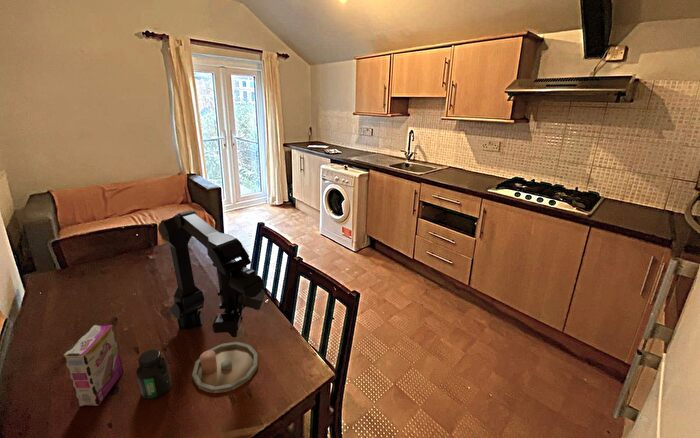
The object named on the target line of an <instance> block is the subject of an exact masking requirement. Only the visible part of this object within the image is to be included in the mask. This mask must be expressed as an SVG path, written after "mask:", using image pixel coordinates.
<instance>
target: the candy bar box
mask: <svg viewBox="0 0 700 438" xmlns="http://www.w3.org/2000/svg"><path fill="white" fill-rule="evenodd" d="M113 326H114V325H112V324H94V325H93V326H92V327H91V328H90V329H89V330H88V331H86V333H85V334H84V335H83V336H81V337H80V339H79V340H77V341H76V342H75V344H73V345H72V346H71V347H70V348H69V349H68V350H67V351H66V352H65V353H64V354H63V358H64V361H65V365H66V367H67V371H68V373H69V377H70V380H71V383H72V387H73V389H74V392H75V396H76V399H77V402H78V405H79V406H80V407H97V406H98V407H99V406H100V405H101V404H102V402H103V401H104V399H105V398H106V397H107V395H108V394H109V393H110V391H111V389H113V387H114V386H115V384H116V383H117V381H118V380H119V379H120V377H121V376H122V374H124V368H123V363H122V360H121V356H120V355H121V354H120V352H119V347H118V343H117V339H116V335H115V331H114V327H113Z"/></svg>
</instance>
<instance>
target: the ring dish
mask: <svg viewBox="0 0 700 438" xmlns="http://www.w3.org/2000/svg"><path fill="white" fill-rule="evenodd" d="M209 350H212V351H214V352H215V355H216V362H217V370H216V371H215V372H214V373H213V374H210V375H204V374H203V373H202V368H201V362H200V357H199V358H198V359H196V361H195V362H194V367H193V369H192V374H191V375H192V379H193V382H194V384H195V386H196V387H197V388H198V389H199V390H202V391H204V392H206V393H212V394H218V393H219V394H220V393H221V394H222V393H225V392H230V391H234V390H235V389H237V388H239V387H241V386H243V385H244V384H245V383H247V382H248V381H249V380H250V379H251V378H252V376H253V375H254V374H255V373H256V371H257V370H258V364H259V360H258V359H259V356H258V352H257V351H256V350H255V349H254V347H252V346H251V345H250V344H247V343H243V342H239V341H231V342H225V343H224V342H223V343H220V344H218V345H216V346H214V347H211V348H210V349H207V350H206V351H209Z"/></svg>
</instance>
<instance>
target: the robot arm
mask: <svg viewBox="0 0 700 438" xmlns="http://www.w3.org/2000/svg"><path fill="white" fill-rule="evenodd" d="M157 229H158V232H159V234H160V236H161V238H162V240H163V241H164V242H165V243H166V244H167V245H168V246H169V247H170V249H169V250H170V253H171V259H172V263H173V268H174V273H175V274H174V275H175V279H176V285H177V289H176V290H175V293H174V295H173V301H174V303H173V304H172V305H171V306H170V308H169V309H170V313H171V315H172V316H173V317H175V318H176V319H177V324H178V329H179V330H181V329H182V330H192V329H194V328H198V327H199V328H200V327H201V326H202V324H203V315H202V314H203V313H202V311H201V310H200V309H203V308H204V305H205V296H204V293H203V291H202V290H201V289H200V288H198V286H197V285H196V284H195V278H194V274H193V273H194V271H193V267H192V261H191V255H190V249H189V243H190V241H191V238H192V237H193V238H195V240H196V241H198V242H199V243H201V245H203V246H204V247H205V248H206V250H207V252H206V254H207V257H209V258H210V259H209V260H210V261H211V262H212V266H213V267H214V268H216V274H217V280H218V290H217V296H218V297H219V296H220V303H219V306H218V307H219V310H224V311H223V313H219V314H218V315H216V316H215V318H214V319H213V320H214V321H213V323H212V325H211V327H212V328H211V329H212V332H213V333H214V334H220V333H222V334H223V333H228V335H229V334H230V335H231V336H232V337H237V331H238V330H239V327H240V324H241V322H242V319H244V316H242V315H243V310H244V309H245V308H250V309H253V310H254V311H260V310H261V309H262V305H263V303H264V299H265V296H266V295H265V294H266V292H265V289H263V287H264V280H263V278H262V277H261V276H260V275H258V274H257V273H256V270H254V269H252V268H251V269H250V268H248V267H247V266H248V265H250V264H252V261H251V260H250V255H249V253H248V252H247V250H246V249H245V248H244V245H243V244H242V242H241V241H240V240H239V239H238V238H237V237H235V236H233V235H231V234H230V233H225V232H224V233H223V232H219V230H217V229H215V228H214V227H212V225H210V224H208V223H207V221H205V220H204V219H203V218H201V217H200V216H199V215H198V213H197V212H196V211H195V210H186V211H183V212H178V213H177V214H175V215H174V216H172V217H171V218H166V219H162V220H161V221H160V223H159V224H158V227H157ZM239 258H240V259H239ZM236 259H239V260H236ZM234 260H236V261H234Z"/></svg>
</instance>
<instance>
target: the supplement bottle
mask: <svg viewBox="0 0 700 438" xmlns="http://www.w3.org/2000/svg"><path fill="white" fill-rule="evenodd" d="M137 361H138V367H137V368H136V377H137V382H138V384H139V389H140V393H141V396H142V398H143V399H145V400H147V401H152V400H153V401H154V400H157V399H159V398H162V397H164V396H165V395H166V394H167V393H168V392H169V391H170V390H171V387H172V379H171V374H170V370H169V364H168V361H167V360H166V358H164V357H163V356H162V355H161V351H160V350H159V349H157V348H156V349H154V348H152V349H149V350H146V351H145V352H142V353H141V354H140V355H139V357H138V360H137Z"/></svg>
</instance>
